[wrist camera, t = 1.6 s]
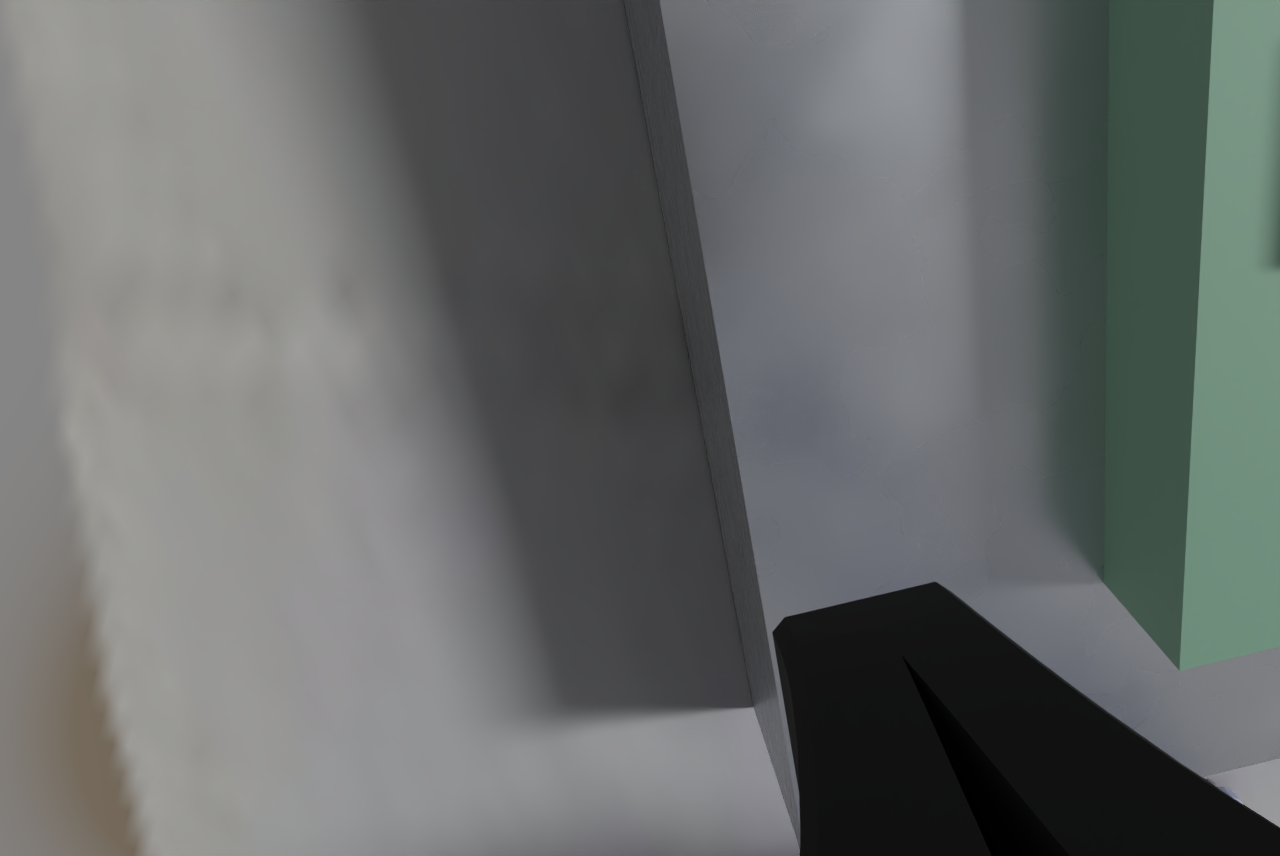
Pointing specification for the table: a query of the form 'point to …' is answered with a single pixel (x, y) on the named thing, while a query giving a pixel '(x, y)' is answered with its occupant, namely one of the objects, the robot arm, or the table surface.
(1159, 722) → the deck
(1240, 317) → the thick sage green slab
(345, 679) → the table surface
